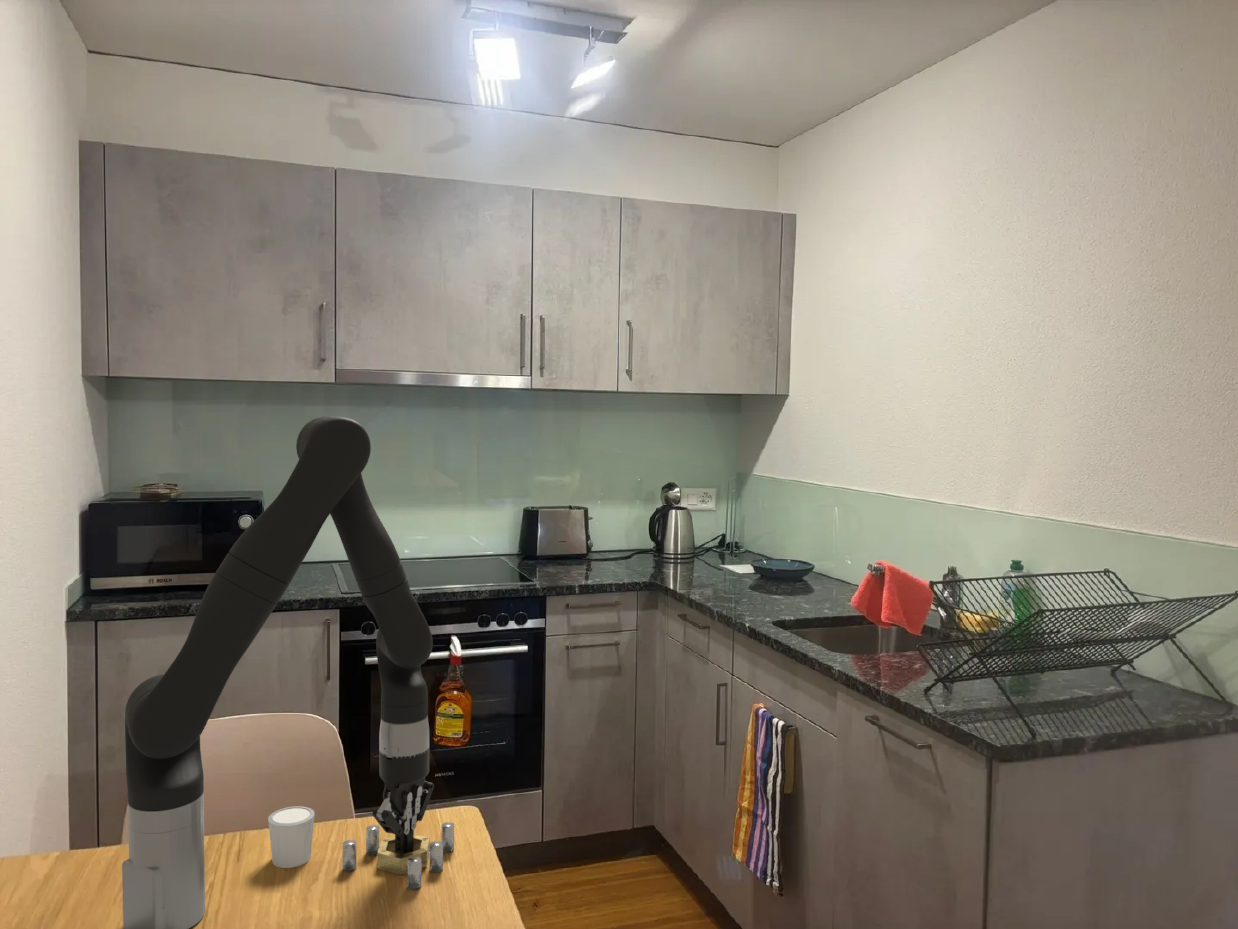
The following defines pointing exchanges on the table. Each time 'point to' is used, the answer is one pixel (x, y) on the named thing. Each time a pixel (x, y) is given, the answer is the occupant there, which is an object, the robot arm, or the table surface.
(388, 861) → the tan hexagonal ring
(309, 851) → the white cup
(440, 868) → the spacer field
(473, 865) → the table surface
